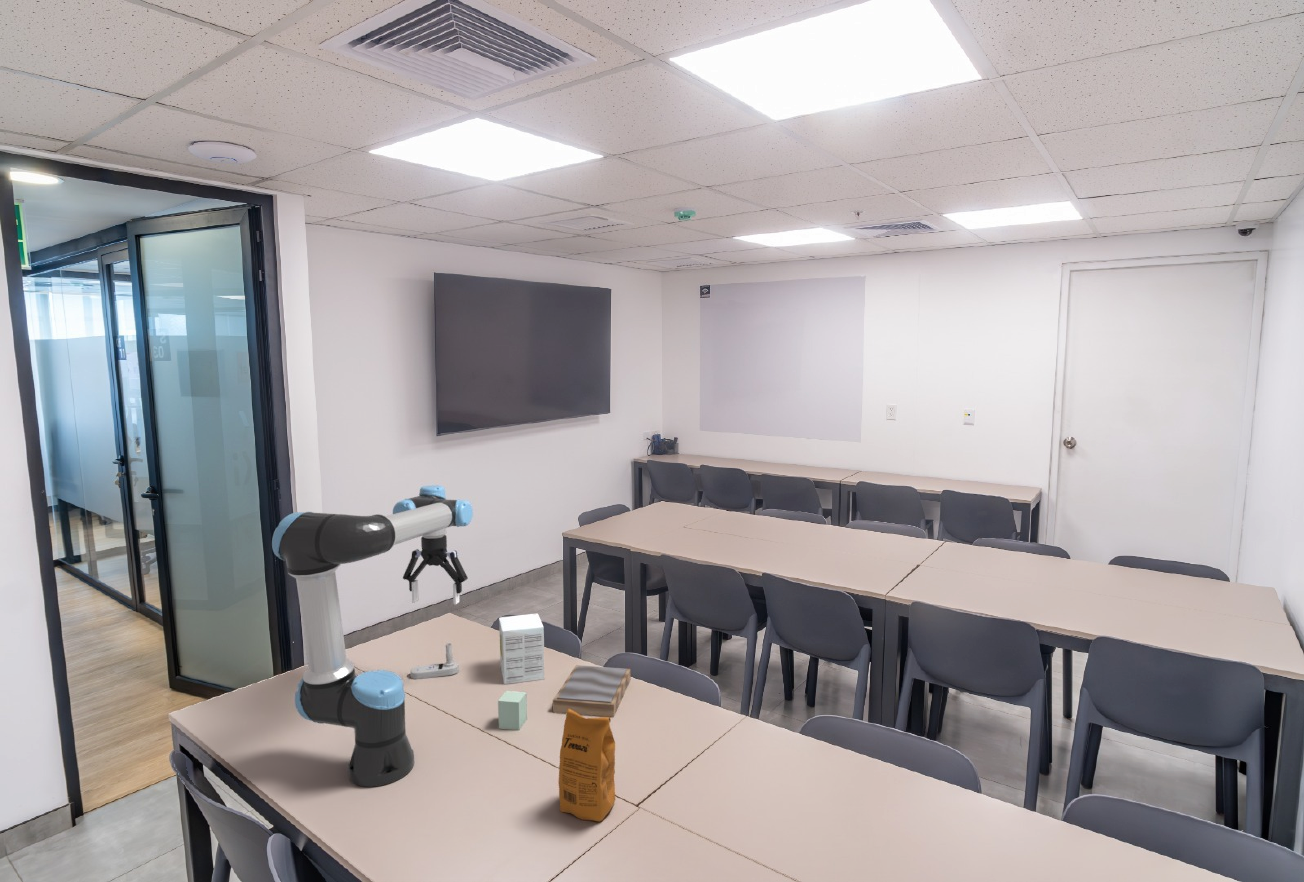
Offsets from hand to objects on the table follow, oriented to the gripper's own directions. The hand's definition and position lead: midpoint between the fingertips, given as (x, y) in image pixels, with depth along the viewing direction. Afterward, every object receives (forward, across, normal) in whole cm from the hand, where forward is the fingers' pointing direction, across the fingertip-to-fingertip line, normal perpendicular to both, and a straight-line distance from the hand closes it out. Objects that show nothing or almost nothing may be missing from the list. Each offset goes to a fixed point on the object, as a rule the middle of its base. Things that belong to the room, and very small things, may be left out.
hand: (435, 602), depth 211 cm
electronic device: (+27, +4, -7) cm, 28 cm away
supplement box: (+26, -24, -11) cm, 37 cm away
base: (+26, -50, +1) cm, 57 cm away
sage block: (+27, -32, +20) cm, 46 cm away
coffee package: (+27, -61, +53) cm, 85 cm away
